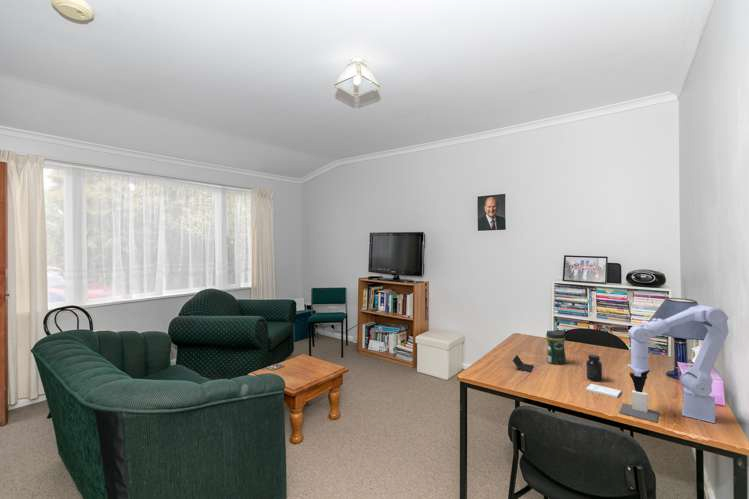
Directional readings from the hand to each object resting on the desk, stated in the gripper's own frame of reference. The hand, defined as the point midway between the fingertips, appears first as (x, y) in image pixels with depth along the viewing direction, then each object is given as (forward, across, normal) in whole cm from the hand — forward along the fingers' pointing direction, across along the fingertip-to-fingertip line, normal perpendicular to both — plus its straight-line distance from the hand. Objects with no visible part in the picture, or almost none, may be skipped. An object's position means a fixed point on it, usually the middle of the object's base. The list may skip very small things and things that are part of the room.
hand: (639, 388), depth 146 cm
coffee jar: (+9, -41, -43) cm, 60 cm away
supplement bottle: (+9, -26, -21) cm, 35 cm away
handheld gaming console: (+9, -20, -54) cm, 59 cm away
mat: (+9, +3, 0) cm, 9 cm away
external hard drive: (+10, -12, -15) cm, 22 cm away
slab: (+8, 0, 0) cm, 9 cm away
